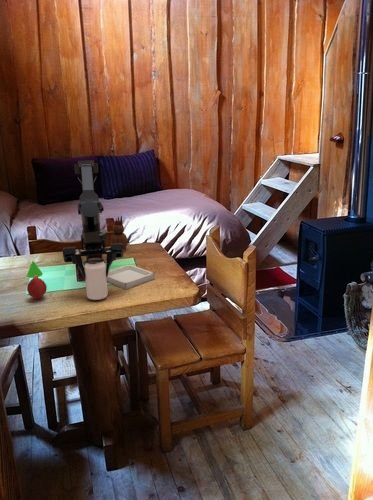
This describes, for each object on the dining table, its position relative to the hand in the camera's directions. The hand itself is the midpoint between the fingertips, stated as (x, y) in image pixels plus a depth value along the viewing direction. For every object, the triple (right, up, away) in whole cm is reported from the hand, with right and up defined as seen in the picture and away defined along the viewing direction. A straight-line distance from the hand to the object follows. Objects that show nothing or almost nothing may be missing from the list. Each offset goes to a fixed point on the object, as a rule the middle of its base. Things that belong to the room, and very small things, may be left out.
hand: (95, 277), depth 143 cm
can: (0, -7, +4) cm, 7 cm away
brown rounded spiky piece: (0, +8, +51) cm, 52 cm away
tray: (+7, -2, +19) cm, 21 cm away
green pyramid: (-27, -1, +25) cm, 37 cm away
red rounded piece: (-19, -7, +4) cm, 21 cm away
